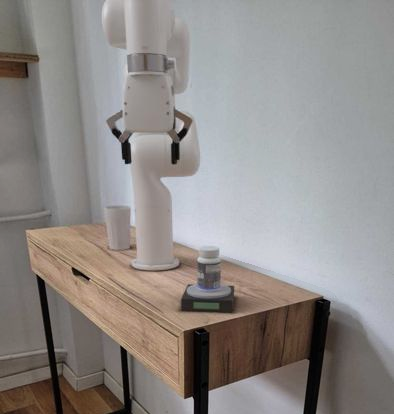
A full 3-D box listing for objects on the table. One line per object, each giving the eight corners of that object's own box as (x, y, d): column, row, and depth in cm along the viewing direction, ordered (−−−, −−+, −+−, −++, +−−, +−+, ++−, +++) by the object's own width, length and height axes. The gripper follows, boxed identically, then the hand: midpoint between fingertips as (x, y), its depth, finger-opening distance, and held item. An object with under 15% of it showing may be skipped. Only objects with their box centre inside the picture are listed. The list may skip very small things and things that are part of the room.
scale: (187, 295, 105) (187, 281, 103) (234, 296, 104) (234, 282, 102) (181, 311, 95) (180, 296, 94) (231, 312, 94) (232, 297, 93)
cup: (101, 247, 148) (98, 207, 143) (122, 243, 153) (120, 204, 148) (117, 251, 143) (114, 209, 138) (138, 247, 148) (136, 207, 143)
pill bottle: (194, 286, 100) (194, 246, 96) (216, 284, 101) (216, 244, 98) (200, 293, 96) (200, 251, 92) (223, 291, 97) (224, 249, 93)
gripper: (194, 69, 95) (195, 163, 102) (108, 71, 96) (115, 162, 103) (189, 64, 88) (190, 165, 95) (97, 66, 90) (104, 165, 97)
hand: (151, 163), depth 99 cm, fingers open, 9 cm apart
